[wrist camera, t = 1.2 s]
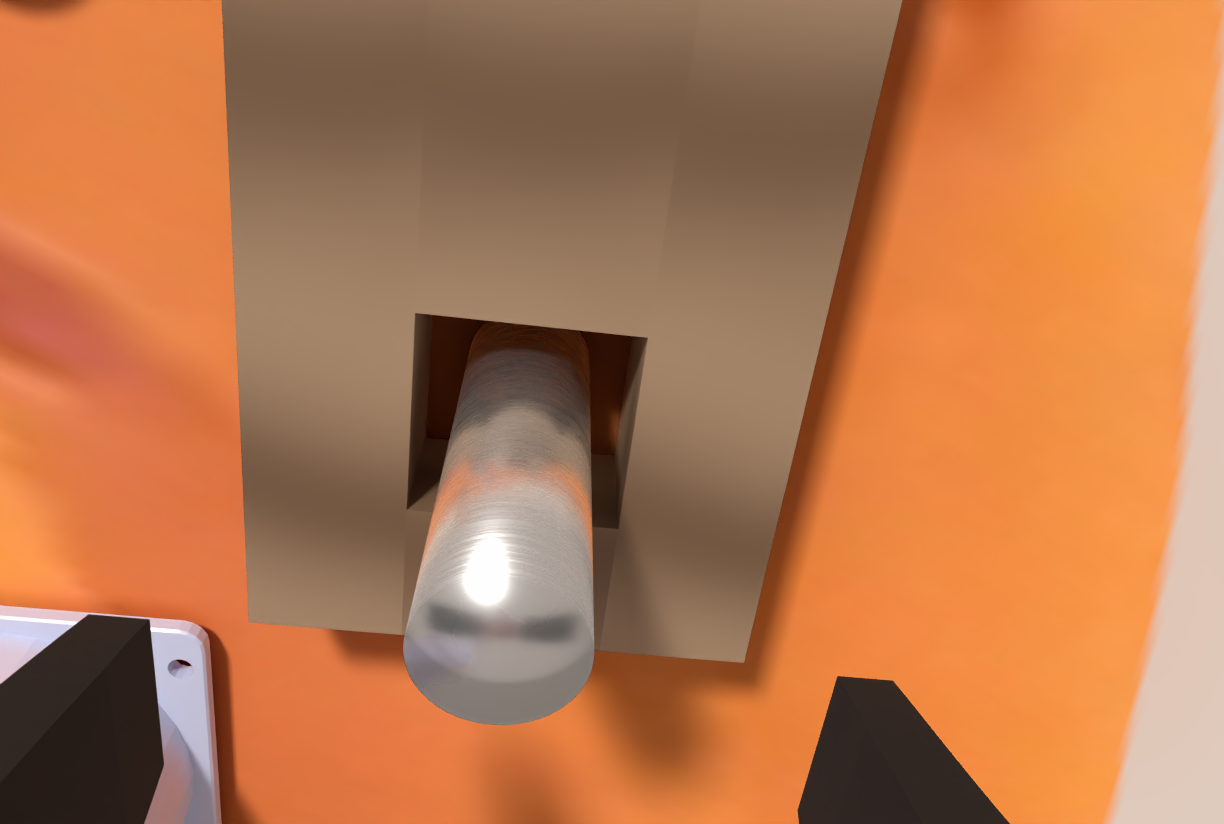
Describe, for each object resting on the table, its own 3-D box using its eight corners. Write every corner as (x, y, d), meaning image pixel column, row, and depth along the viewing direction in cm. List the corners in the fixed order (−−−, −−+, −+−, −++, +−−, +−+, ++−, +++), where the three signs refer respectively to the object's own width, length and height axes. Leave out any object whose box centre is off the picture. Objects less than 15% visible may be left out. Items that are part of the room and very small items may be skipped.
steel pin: (582, 419, 20) (583, 731, 13) (465, 408, 20) (399, 718, 12) (595, 312, 19) (604, 586, 12) (473, 299, 19) (406, 568, 11)
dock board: (727, 580, 22) (745, 670, 19) (284, 541, 21) (245, 629, 18) (977, -557, 13) (1063, -649, 11) (256, -689, 13) (180, -817, 10)
